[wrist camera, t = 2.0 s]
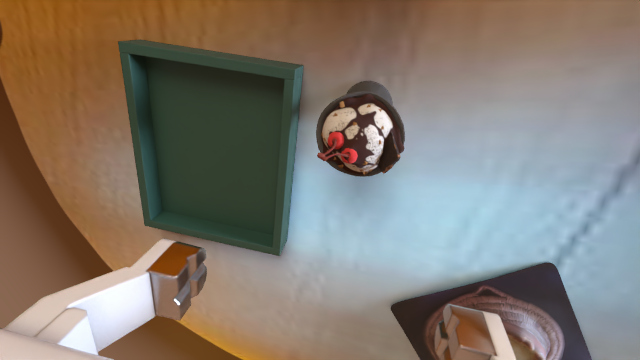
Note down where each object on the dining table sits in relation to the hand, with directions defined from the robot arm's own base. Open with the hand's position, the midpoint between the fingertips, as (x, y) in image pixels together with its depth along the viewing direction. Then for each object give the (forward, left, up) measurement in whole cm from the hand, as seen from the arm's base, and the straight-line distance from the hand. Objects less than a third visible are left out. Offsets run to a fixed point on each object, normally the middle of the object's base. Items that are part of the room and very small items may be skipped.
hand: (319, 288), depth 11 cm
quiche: (+28, +22, -26) cm, 44 cm away
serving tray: (+8, -16, -26) cm, 31 cm away
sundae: (0, 0, -26) cm, 26 cm away
